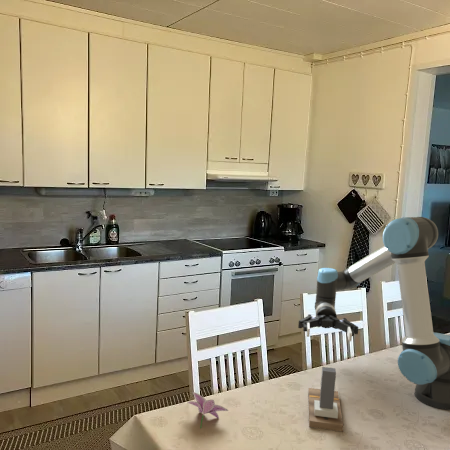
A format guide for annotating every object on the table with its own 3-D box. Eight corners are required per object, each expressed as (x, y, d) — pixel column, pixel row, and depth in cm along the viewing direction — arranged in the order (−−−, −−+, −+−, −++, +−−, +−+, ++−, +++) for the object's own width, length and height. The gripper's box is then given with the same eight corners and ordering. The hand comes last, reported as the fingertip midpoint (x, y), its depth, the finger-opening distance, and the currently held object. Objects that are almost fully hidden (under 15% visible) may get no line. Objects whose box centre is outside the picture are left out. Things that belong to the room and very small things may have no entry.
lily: (230, 432, 138) (234, 398, 142) (202, 429, 131) (206, 393, 134) (203, 428, 146) (208, 395, 150) (175, 424, 139) (180, 390, 143)
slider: (314, 405, 149) (317, 364, 148) (336, 408, 148) (339, 366, 147) (314, 415, 144) (317, 372, 142) (337, 418, 142) (341, 375, 141)
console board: (308, 393, 163) (308, 387, 162) (337, 396, 161) (337, 391, 161) (309, 426, 141) (309, 420, 141) (342, 431, 140) (343, 425, 139)
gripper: (359, 328, 172) (367, 350, 151) (291, 321, 176) (290, 341, 155) (361, 309, 171) (369, 328, 150) (293, 302, 175) (291, 320, 154)
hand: (329, 335), depth 153 cm, fingers open, 13 cm apart
